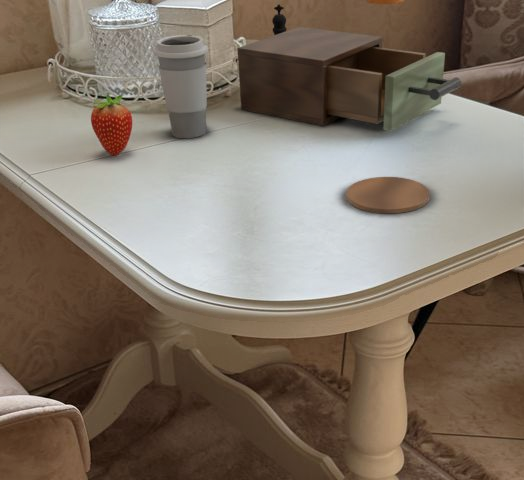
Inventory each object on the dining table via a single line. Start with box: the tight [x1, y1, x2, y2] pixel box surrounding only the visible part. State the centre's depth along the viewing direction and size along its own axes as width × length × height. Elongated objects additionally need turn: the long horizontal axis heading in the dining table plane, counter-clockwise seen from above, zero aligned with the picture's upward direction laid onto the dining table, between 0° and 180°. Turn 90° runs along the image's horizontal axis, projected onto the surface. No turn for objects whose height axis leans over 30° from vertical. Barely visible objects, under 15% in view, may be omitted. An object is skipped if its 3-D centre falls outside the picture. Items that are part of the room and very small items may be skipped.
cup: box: [153, 34, 209, 139], centre depth 104 cm, size 7×7×12 cm
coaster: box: [345, 176, 431, 214], centre depth 87 cm, size 9×9×1 cm
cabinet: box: [236, 26, 383, 127], centre depth 113 cm, size 15×15×9 cm
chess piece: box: [271, 4, 288, 36], centre depth 130 cm, size 4×4×10 cm
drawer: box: [326, 47, 462, 131], centre depth 106 cm, size 18×13×7 cm
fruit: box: [90, 91, 133, 157], centre depth 100 cm, size 5×5×8 cm
